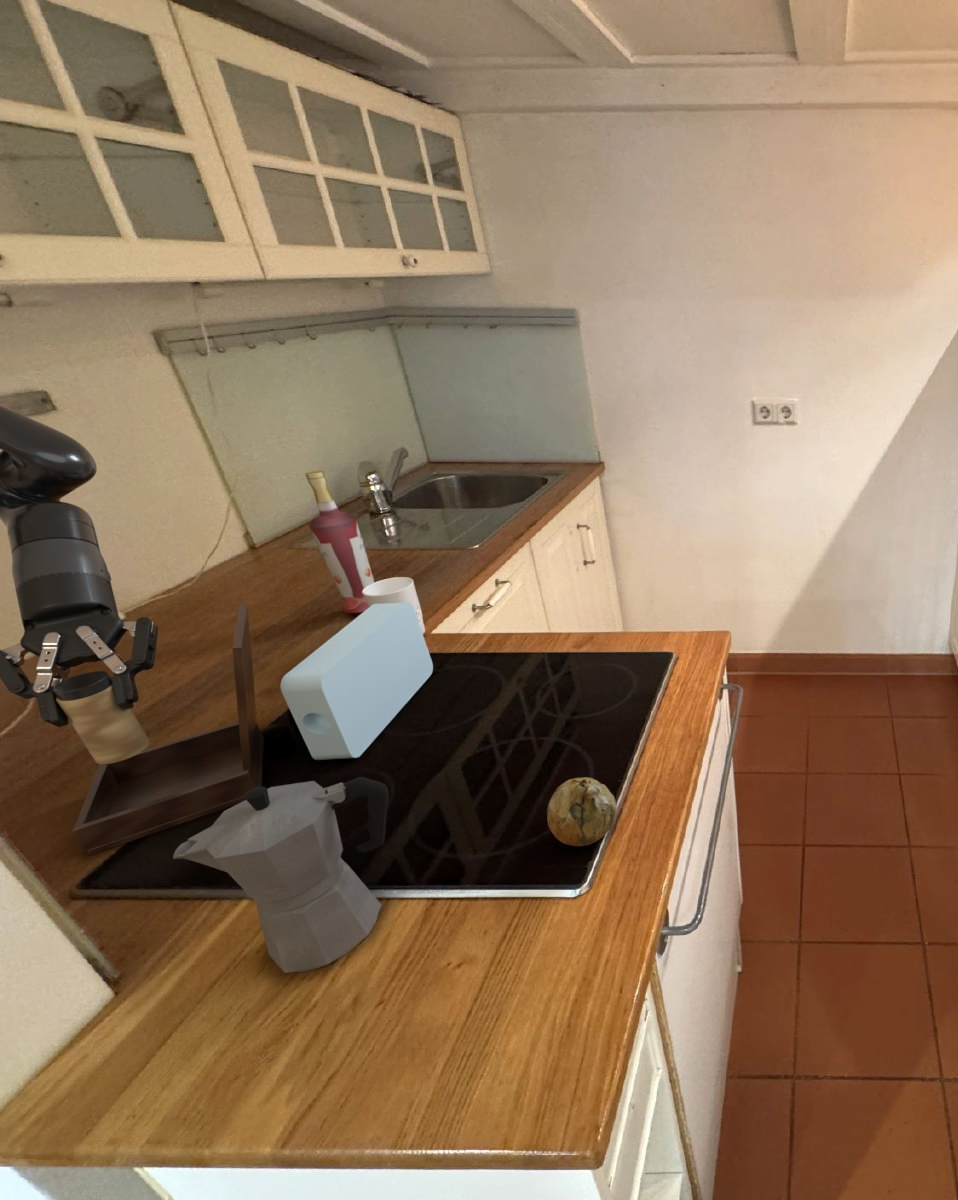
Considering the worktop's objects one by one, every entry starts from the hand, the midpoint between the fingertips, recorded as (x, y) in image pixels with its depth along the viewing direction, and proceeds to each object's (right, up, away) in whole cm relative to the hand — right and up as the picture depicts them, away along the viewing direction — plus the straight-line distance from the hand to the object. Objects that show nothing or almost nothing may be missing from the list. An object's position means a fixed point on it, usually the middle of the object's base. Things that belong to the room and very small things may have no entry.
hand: (93, 715), depth 74 cm
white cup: (+7, +7, +46) cm, 47 cm away
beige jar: (-1, -5, +4) cm, 7 cm away
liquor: (-7, +11, +56) cm, 57 cm away
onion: (+56, -14, +1) cm, 58 cm away
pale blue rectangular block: (+17, -4, +24) cm, 29 cm away
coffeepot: (+35, -19, -9) cm, 41 cm away
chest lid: (+9, +2, +9) cm, 13 cm away
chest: (+2, -11, +9) cm, 15 cm away
